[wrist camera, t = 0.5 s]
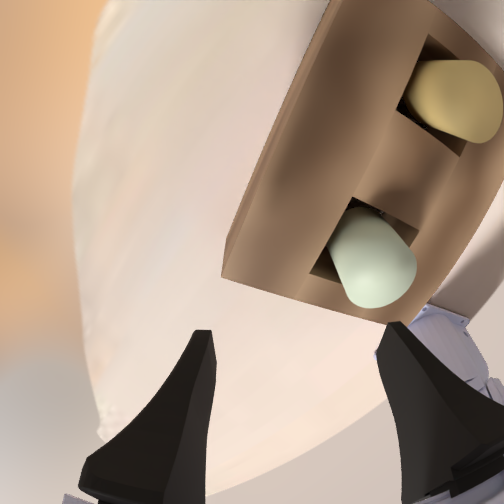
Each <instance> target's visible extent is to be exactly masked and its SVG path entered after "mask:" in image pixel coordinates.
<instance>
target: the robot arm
mask: <svg viewBox="0 0 504 504" xmlns="http://www.w3.org/2000/svg"><path fill="white" fill-rule="evenodd" d="M469 322H470V320H469V318H467V317H464V316H461V315H459V314H456V313H453V312H450V311H447V310H445V309H442V308H439V307H436V306H434V305H431V304H428V303H426V305H425V306H424V307H423V308H422V310H421V311H420V312H419V313H418V315H417V316H416V317H415V318H414V319H413V321H412V322H411V323H410V324H409V325H408V327H406V326H405V325H404V324H403V323H402V322H401V321H395V322H388V324H387V326H386V329H385V332H384V334H383V337H382V339H381V342H380V344H379V347H378V349H377V352H376V353H375V354H374V356H373V357H374V359H375V360H377V364H378V368H379V373H380V377H381V380H382V383H383V386H384V389H385V392H386V394H387V397H388V400H389V403H390V406H391V409H392V413H393V416H394V419H395V423H396V428H397V434H398V440H399V447H400V456H401V468H402V469H401V471H402V495H401V501H402V504H414V503H415V504H504V386H503V385H502V383H501V381H500V380H499V379H498V378H494V379H493V378H492V377H490V378H489V379H488V377H489V372H488V366H487V363H486V361H485V360H484V358H483V356H482V354H481V353H480V351H479V349H478V348H477V346H476V344H475V343H474V341H473V340H472V338H471V336H470V335H469V333H468V331H467V330H466V328H465V327H466V326H467V325H468V324H469ZM216 366H217V361H216V355H215V349H214V343H213V337H212V331H211V330H195V331H194V332H193V334H192V337H191V339H190V341H189V343H188V345H187V346H186V348H185V350H184V352H183V354H182V355H181V357H180V359H179V361H178V362H177V364H176V365H175V367H174V369H173V370H172V372H171V373H170V375H169V376H168V378H167V379H166V381H165V382H164V383H163V385H162V386H161V388H160V389H159V390H158V392H157V393H156V394H155V396H154V397H153V398H152V399H151V401H150V402H149V403H148V404H147V405H146V407H145V408H144V409H143V410H142V411H141V412H140V413H139V414H138V415H137V416H136V417H135V418H134V419H133V420H132V421H131V422H130V423H129V424H128V425H127V426H126V427H125V428H124V429H123V430H122V431H121V432H120V433H118V434H117V435H116V436H115V437H114V438H113V439H112V440H110V441H109V442H108V443H106V444H105V445H104V446H102V447H101V448H100V449H98V450H97V451H95V452H94V453H93V454H91V455H90V456H88V457H87V459H86V461H85V464H84V466H83V468H82V472H81V476H80V480H79V484H78V487H79V489H80V490H81V491H83V492H85V493H86V494H88V495H90V496H93V497H94V498H96V499H98V504H205V472H206V446H207V434H208V427H209V421H210V415H211V409H212V403H213V397H214V391H215V385H216ZM425 499H426V500H425ZM422 500H423V501H422ZM417 502H418V503H417ZM62 504H93V503H90V502H88V501H85V500H82V499H80V498H77V497H74V496H72V495H69V494H64V499H63V503H62Z"/></svg>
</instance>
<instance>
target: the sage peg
mask: <svg viewBox="0 0 504 504" xmlns="http://www.w3.org/2000/svg"><path fill="white" fill-rule="evenodd" d="M327 248H328V250H329V253H330V255H331V257H332V260H333V262H334V265H335V267H336V269H337V272H338V274H339V277H340V279H341V282H342V284H343V287H344V289H345V291H346V294H347V296H348V298H349V299H350V300H351V302H353V303H354V304H356V305H357V306H360V307H363V308H379V307H383V306H386V305H388V304H390V303H392V302H394V301H396V300H397V299H399V298H400V297H401V296H402V295H403V294H404V293H405V292H406V291H407V290H408V289H409V287H410V286H411V284H412V282H413V280H414V278H415V275H416V271H417V262H416V258H415V255H414V254H413V252H412V251H411V250H410V248H409V247H408V246H407V245H406V244H405V242H404V241H403V240H402V239H401V238H400V236H399V235H398V234H397V233H396V232H395V230H394V229H393V228H392V227H391V226H390V225H389V223H388V222H387V221H386V220H385V219H384V218H383V217H382V216H381V214H380V213H378V212H377V211H375V210H374V209H371V208H367V207H356V208H352V209H349V210H347V211H345V212H344V213H343V214H342V216H341V218H340V220H339V222H338V224H337V225H336V227H335V229H334V231H333V233H332V234H331V236H330V238H329V240H328V241H327Z"/></svg>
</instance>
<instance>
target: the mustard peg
mask: <svg viewBox="0 0 504 504" xmlns="http://www.w3.org/2000/svg"><path fill="white" fill-rule="evenodd" d="M403 97H404V101H405V104H406V106H407V108H408V110H409V112H410V113H411V115H412V116H413V117H414V118H415V119H416V120H417V121H418V122H420V123H421V124H423V125H426V126H429V127H432V128H435V129H438V130H441V131H443V132H446V133H449V134H452V135H455V136H457V137H460V138H462V139H465V140H468V141H470V142H473V143H484V142H486V141H488V140H490V139H491V138H492V137H493V136H494V135H495V134H496V132H497V131H498V129H499V127H500V124H501V121H502V116H503V100H502V94H501V91H500V88H499V85H498V83H497V81H496V79H495V77H494V76H493V74H492V73H491V72H490V71H489V70H488V69H487V68H486V67H485V66H484V65H482V64H481V63H479V62H476V61H471V60H432V61H420V62H417V63H416V64H415V67H414V69H413V71H412V74H411V76H410V78H409V81H408V83H407V85H406V87H405V90H404V92H403Z"/></svg>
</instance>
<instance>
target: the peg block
mask: <svg viewBox="0 0 504 504" xmlns="http://www.w3.org/2000/svg"><path fill="white" fill-rule="evenodd" d="M417 59H418V60H419V61H432V60H471V61H476V62H479V63H481V64H482V65H484V66H485V67H486V68H487V69H488V70H489V71H490V72H491V73H492V74H493V76H494V77H495V79H496V81H497V83H498V85H499V88H500V91H501V94H502V100H503V116H502V121H501V124H500V127H499V129H498V131H497V132H496V134H495V135H494V136H493V137H492V138H491V139H490V140H488V141H486V142H484V143H473V142H470V141H468V140H465V139H462V138H460V137H457V136H455V135H452V134H449V133H446V132H443V131H441V130H438V129H435V128H432V127H429V126H428V128H427V130H426V131H425V130H424V129H422V128H421V127H420V126H418V125H417V124H415V123H414V122H413V121H411V120H410V119H408V118H407V117H405V116H404V115H402V114H401V113H399V112H398V111H396V107H397V105H398V103H399V101H400V99H401V96H402V94H403V92H404V90H405V87H406V85H407V83H408V81H409V78H410V76H411V74H412V71H413V69H414V67H415V64H416V62H417ZM503 180H504V71H503V70H502V68H501V67H500V66H499V65H498V64H497V63H496V62H495V61H494V60H493V58H492V57H491V56H490V55H489V54H488V53H487V52H486V51H485V50H484V49H483V48H482V47H481V46H480V45H479V44H478V43H477V42H476V41H475V40H474V39H473V38H472V37H471V36H470V35H469V34H468V33H467V32H465V31H464V30H463V29H462V28H461V27H460V26H459V25H458V24H457V23H455V22H454V21H453V20H452V19H451V18H450V17H448V16H447V15H446V14H445V13H443V12H442V11H441V10H440V9H438V8H437V7H436V6H435V5H433V4H432V3H431V2H429V1H428V0H330V2H329V4H328V6H327V8H326V10H325V12H324V14H323V17H322V19H321V21H320V23H319V25H318V27H317V29H316V31H315V33H314V36H313V38H312V40H311V42H310V44H309V46H308V48H307V51H306V53H305V55H304V57H303V59H302V62H301V64H300V66H299V68H298V70H297V73H296V75H295V77H294V79H293V81H292V84H291V86H290V88H289V90H288V93H287V95H286V97H285V99H284V102H283V104H282V106H281V109H280V111H279V113H278V115H277V118H276V120H275V122H274V125H273V127H272V129H271V132H270V134H269V136H268V139H267V141H266V143H265V146H264V148H263V150H262V153H261V155H260V157H259V160H258V162H257V165H256V167H255V169H254V172H253V174H252V177H251V179H250V181H249V184H248V186H247V189H246V191H245V194H244V196H243V198H242V201H241V203H240V206H239V208H238V211H237V213H236V216H235V218H234V221H233V223H232V226H231V228H230V231H229V233H228V236H227V238H226V244H225V251H224V258H223V266H222V273H221V277H222V278H225V279H228V280H231V281H234V282H238V283H241V284H244V285H247V286H251V287H254V288H257V289H260V290H264V291H267V292H270V293H274V294H277V295H280V296H284V297H287V298H291V299H294V300H297V301H301V302H304V303H308V304H311V305H315V306H318V307H322V308H325V309H329V310H333V311H336V312H340V313H343V314H347V315H351V316H354V317H358V318H362V319H365V320H369V321H373V322H377V323H381V324H384V325H387V324H388V322H395V321H401V322H402V323H403V324H404V325H405V326H406V327H408V325H409V324H410V323H411V322H412V321H413V319H414V318H415V317H416V316H417V315H418V313H419V312H420V311H421V310H422V308H423V307H424V306H425V305H426V303H427V302H428V301H429V299H430V298H431V297H432V295H433V294H434V293H435V291H436V290H437V289H438V287H439V286H440V285H441V283H442V282H443V281H444V279H445V278H446V276H447V275H448V274H449V272H450V271H451V269H452V268H453V266H454V265H455V263H456V262H457V260H458V259H459V257H460V256H461V254H462V253H463V251H464V250H465V248H466V247H467V245H468V243H469V242H470V240H471V239H472V237H473V235H474V234H475V232H476V230H477V229H478V227H479V225H480V223H481V222H482V220H483V218H484V216H485V215H486V213H487V211H488V209H489V207H490V206H491V204H492V202H493V200H494V198H495V196H496V194H497V192H498V190H499V188H500V186H501V184H502V182H503ZM352 196H353V197H355V198H357V199H359V200H361V201H363V202H365V203H367V204H369V205H371V206H374V207H376V208H378V209H380V210H382V211H384V213H383V214H382V217H383V218H384V219H385V220H386V221H387V222H388V223H389V225H390V226H391V227H392V228H393V229H394V230H395V232H396V233H397V234H398V235H399V236H400V238H401V239H402V240H403V241H404V242H405V244H406V245H407V246H408V247H409V248H410V250H411V251H412V252H413V254H414V255H415V258H416V262H417V271H416V275H415V278H414V280H413V282H412V284H411V286H410V287H409V289H408V290H407V291H406V292H405V293H404V294H403V295H402V296H401V297H400V298H399V299H397V300H396V301H394V302H392V303H390V304H388V305H386V306H383V307H379V308H363V307H360V306H357V305H356V304H354V303H353V302H351V300H350V299H349V298H348V296H347V294H346V291H345V289H344V287H343V284H342V282H341V279H340V277H339V274H338V272H337V269H336V267H335V265H334V262H333V260H332V257H331V255H330V253H329V250H328V248H327V246H325V245H326V243H327V241H328V240H329V238H330V236H331V234H332V233H333V231H334V229H335V227H336V225H337V224H338V222H339V220H340V218H341V216H342V214H343V213H344V211H345V209H346V207H347V205H348V203H349V202H350V200H351V198H352Z"/></svg>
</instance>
